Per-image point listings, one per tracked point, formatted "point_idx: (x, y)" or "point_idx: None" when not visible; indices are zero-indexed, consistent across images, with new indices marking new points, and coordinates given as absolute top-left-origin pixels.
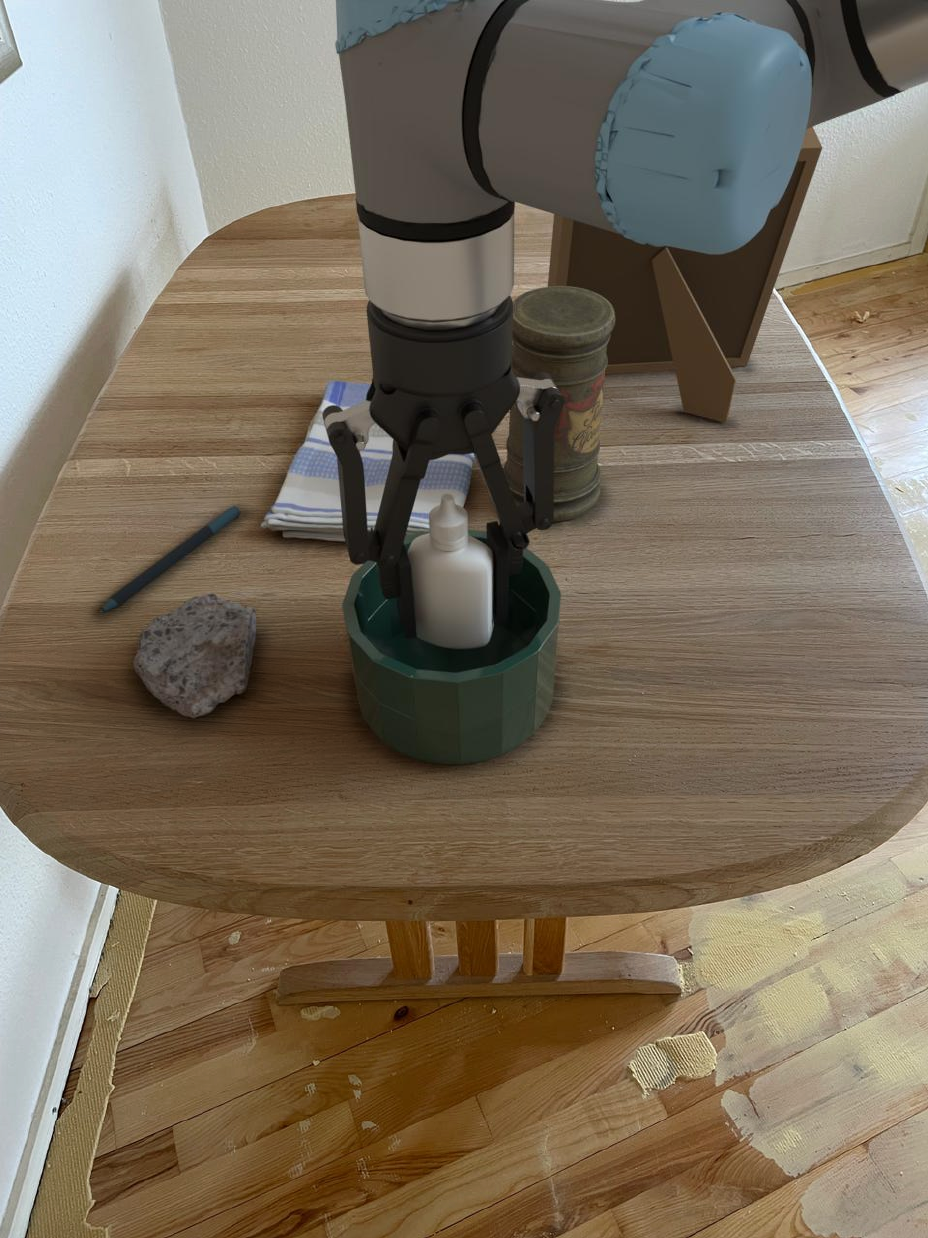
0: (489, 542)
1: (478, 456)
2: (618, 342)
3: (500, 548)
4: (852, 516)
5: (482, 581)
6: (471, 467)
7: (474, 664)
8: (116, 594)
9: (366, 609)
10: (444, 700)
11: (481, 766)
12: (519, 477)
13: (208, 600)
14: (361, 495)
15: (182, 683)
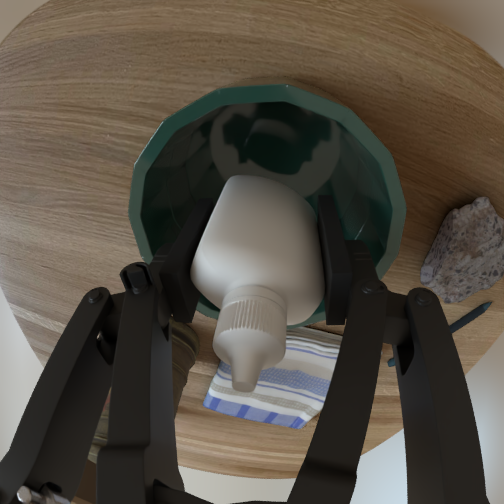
0: (193, 293)
1: (140, 486)
2: None
3: (172, 274)
4: (3, 266)
5: (214, 230)
6: (218, 367)
7: None
8: (481, 313)
9: None
10: (304, 87)
11: (265, 72)
12: (180, 354)
13: (452, 297)
14: (444, 426)
15: (495, 224)
